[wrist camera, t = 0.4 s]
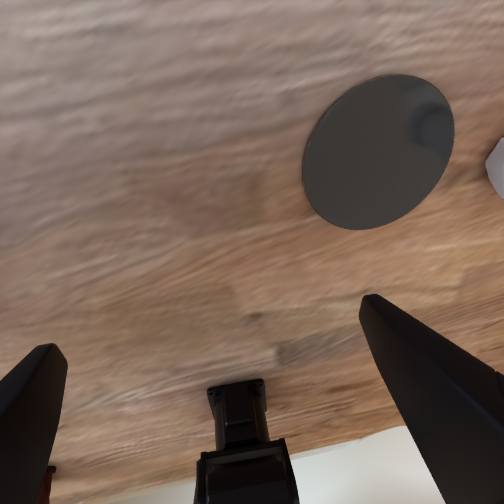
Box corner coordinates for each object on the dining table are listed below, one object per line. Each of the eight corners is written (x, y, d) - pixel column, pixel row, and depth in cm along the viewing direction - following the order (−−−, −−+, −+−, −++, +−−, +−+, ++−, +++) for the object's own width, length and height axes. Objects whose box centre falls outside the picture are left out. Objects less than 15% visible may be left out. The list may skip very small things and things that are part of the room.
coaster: (428, 217, 26) (432, 220, 26) (301, 236, 25) (302, 239, 25) (471, 65, 20) (476, 65, 20) (302, 84, 19) (305, 84, 19)
